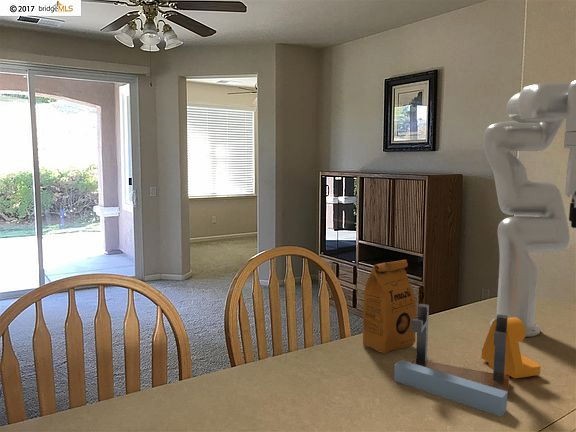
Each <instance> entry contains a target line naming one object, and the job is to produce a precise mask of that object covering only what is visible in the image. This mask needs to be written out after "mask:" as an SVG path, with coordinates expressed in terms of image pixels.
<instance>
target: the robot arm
mask: <svg viewBox="0 0 576 432" xmlns="http://www.w3.org/2000/svg"><path fill="white" fill-rule="evenodd" d="M506 114H507V115H508V117H509V118H510V119H511V120H512V121H511V120H510V121H499V122H496V123H492V124H490V125H489V126H487V128H486V129H485V131H484V135H483V149H484V154H485V156H486V160H487V162H488V164H489V166H490V168H491V171H492V173H493V177H494V185H495V190H496V196H497V203H498V206H499V207H498V208H500V211H501V212H502V213H503V214H505V215H509V217H505V218H504V219H502V220H501V221H500V222H499V223H498V227H497V240H498V250H499V262H498V263H499V264H498V265H499V266H498V267H499V269H498V285H497V287H498V288H497V300H496V303H497V304H496V315H497V314H499V315H506V316H508V318H512V317H516V318H519V319H520V320H521V321H522V322H523V324H524V326H525V330H526V335H525V338H526V337H535V336H537V335H539V334H541V333H540V332H541V327H540V326H539V325H538V324H536V323H535V317H536V316H535V315H536V299H537V286H538V285H537V284H538V266H537V264H536V262H535V261H534V259H533V258H532V256H531V255H530V254H529V253H536V252H537V253H541V252H543V253H545V252H546V253H555V252H556V253H557V252H562V251H564V250H566V249H567V247H568V246H569V243H570V235H571V234H570V228H569V223H568V221H569V222H570V227H571V228H573V229H576V79H575V80H573V81H571V82H542V83H541V82H540V83H535V84H530V85H526V86H524V87H523V88H522V90H521V91H520V92H517V93H515V94H514V95H513V96H511V98H509V100H508V101H507V104H506ZM564 121H565V129H564V142H563V143H564V144H563V148H564V149H569V152H568V156H567V157H568V158H567V165H566V166H567V167H566V169H567V170H566V177H565V178H566V179H565V190H564V193H565V195H566V197H568V198H571V202H570V203H569V213H568V214H569V215H568V219H567V213H566V209H565V204H564V200H563V196H562V194H561V191H560V189H559V188H558V186H557V185H555V184H554V183H552V182H547V181H546V182H545V181H531V180H530V179H528V174H527V169H526V167H525V165H524V164H523V162H522V161H521V160H520V159H519V158H518V157H517V156H516V155H514V154H513V153H512V152H541V151H544V150H546V149H548V148H549V147H550V145H551V144H552V142H553V141H554V139H555V137H556V135H557V134H558V132H559V130H560V128H561V127H562V124H563V123H564ZM571 195H572V196H571ZM495 319H497V316H496V317H495V318H492V319H491V320H490V321H489V326H490V327H491V325H492V322H493V321H494V320H495Z"/></svg>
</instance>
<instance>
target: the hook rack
mask: <svg viewBox="0 0 576 432" xmlns="http://www.w3.org/2000/svg"><path fill="white" fill-rule="evenodd" d="M429 309H430V305H429V304H426V303H419V304H418V305H417V319H416V318H415V319H413V320H412V332H415V333H416V344H415V345H416V348H415V351H416V352H415V358H413V360H412V362H411V363H413V364H417V365H420V366H423V367H427V368H430V369H433V370H437V371H440V372H443V373H447V374H450V375H453V376H457V377H460V378H463V379H467V380H470V381H473V382H477V383H480V384H483V385H487V386H490V387H493V388H497V389H500V390H503V391H507V399H508V397H509V388H510V387H509V386H510V376H504V369H505V353H506V336H507V319H508V316H506V315H499V314H497V313H496V317H497V319H496V331H495V332H494V345H495V354H494V369H493V372H488V371H483V370H478V369H471V368H466V367H461V366H455V365H451V364H445V363H441V362H440V363H439V362H434V361H430V360H429V361H428V335H429V315H430V313H429V311H430V310H429Z"/></svg>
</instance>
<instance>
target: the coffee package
mask: <svg viewBox="0 0 576 432" xmlns="http://www.w3.org/2000/svg"><path fill="white" fill-rule="evenodd" d="M408 266H409V264H408V261H407V259H401V260H396V261H389V262H382V263H377V264H374V265H373V266H372V269H371V271H370V273H369V276H368V278H367V280H366V283H365V287H364V293H363V308H362V345H363V346H364V347H368V348H372V349H373V350H375V351H377V352H378V353H379V352H381V353H383V354H386V353H389V352H392V351H395V350H396V351H397V350H402V349H405V348H407V347H411V346H414V344H415V343H416V341H417V338H416V332H412V320H413V319H416V316H417V303H416V302H417V301H416V297H415V294H414V293H415V292H414V291H413V287H412V285H411V283H410V281H409V276H408V274H407V271H406V270H405V268H408Z"/></svg>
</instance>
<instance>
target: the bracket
mask: <svg viewBox="0 0 576 432" xmlns="http://www.w3.org/2000/svg"><path fill="white" fill-rule="evenodd" d="M494 319H495V318H494ZM495 331H496V319H495V320H494V321H493V322H492V325H491V326H490V328H489V329H488V333H487V335H486V339H485V341H484V344H483V346H482V349H481V357H480V358H481V359H482V360H484V361H486V362H487V363H488V367H489V368H492V369H493V370H494V354H495V345H494V332H495ZM525 335H526V330H525V326H524V324H523V322H522V321H521V320H520V319H519V318H516V317H512V318H508V319H507V336H506V353H505V369H504V376H509V377H512V378H513V379H520V378H527V377H532V376H538V375H541V367H542V366H541V364H540V363H538V362H536V361H534V360H532V359H530V358H529V357H526V356H525V355H523V354H522V353H521V349H520V344H519V342H520V343H521V342H523V341H524V340H525V338H526V337H525Z"/></svg>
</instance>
